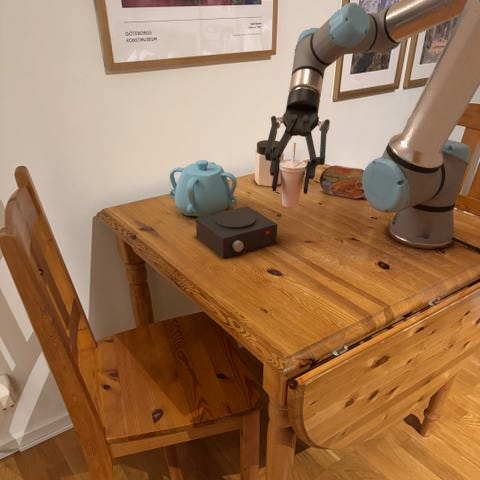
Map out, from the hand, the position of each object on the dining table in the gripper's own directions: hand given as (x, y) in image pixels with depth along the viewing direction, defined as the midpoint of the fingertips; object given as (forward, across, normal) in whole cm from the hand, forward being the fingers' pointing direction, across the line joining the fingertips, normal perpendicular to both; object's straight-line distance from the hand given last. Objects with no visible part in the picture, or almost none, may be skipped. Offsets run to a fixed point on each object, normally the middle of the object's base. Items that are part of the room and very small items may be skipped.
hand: (289, 189), depth 100 cm
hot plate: (+10, +12, -8) cm, 18 cm away
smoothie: (+1, 0, -6) cm, 6 cm away
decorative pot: (0, +25, -20) cm, 31 cm away
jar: (-20, +11, -39) cm, 45 cm away
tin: (-16, -13, -35) cm, 40 cm away
